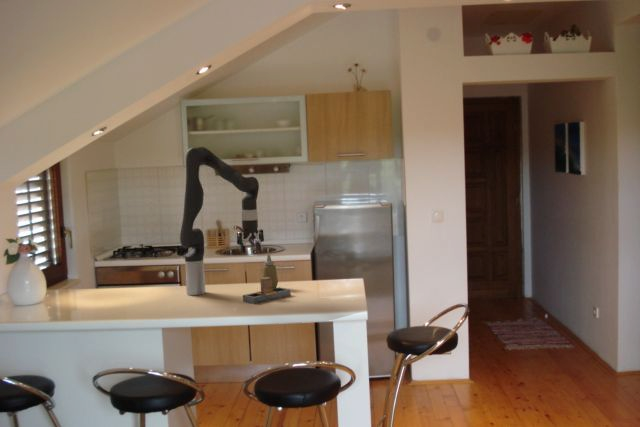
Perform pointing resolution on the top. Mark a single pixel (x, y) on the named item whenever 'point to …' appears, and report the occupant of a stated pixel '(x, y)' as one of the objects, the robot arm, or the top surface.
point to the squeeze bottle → (270, 271)
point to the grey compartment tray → (266, 295)
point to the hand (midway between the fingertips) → (251, 252)
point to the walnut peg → (266, 285)
